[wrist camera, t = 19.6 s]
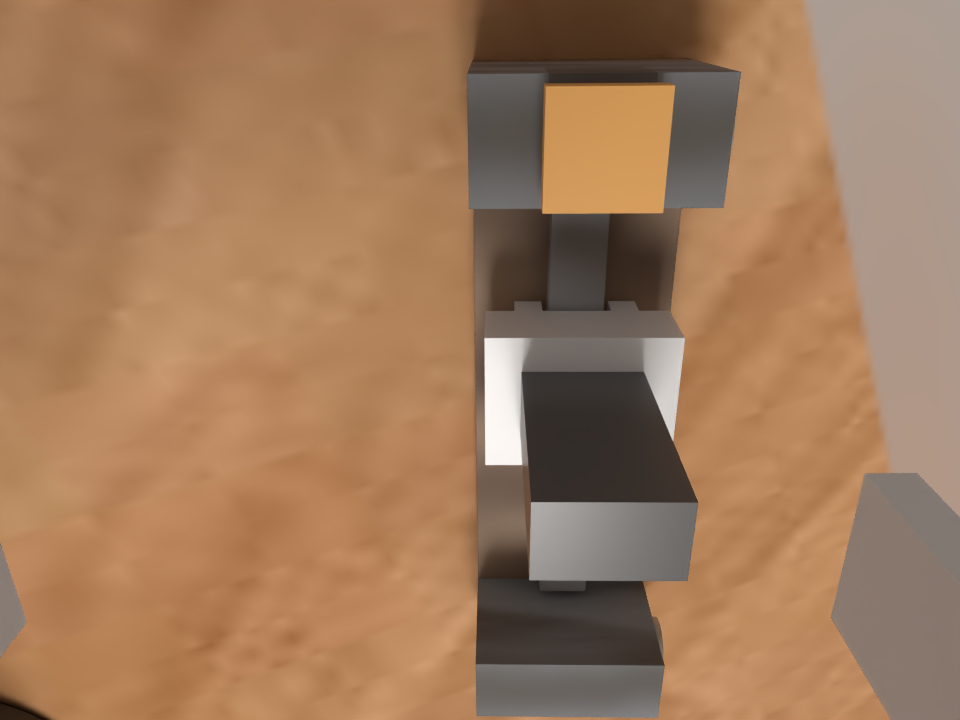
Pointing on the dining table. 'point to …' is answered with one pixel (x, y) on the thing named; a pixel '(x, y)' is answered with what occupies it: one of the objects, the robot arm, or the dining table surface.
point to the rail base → (571, 287)
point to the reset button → (605, 147)
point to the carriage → (592, 439)
